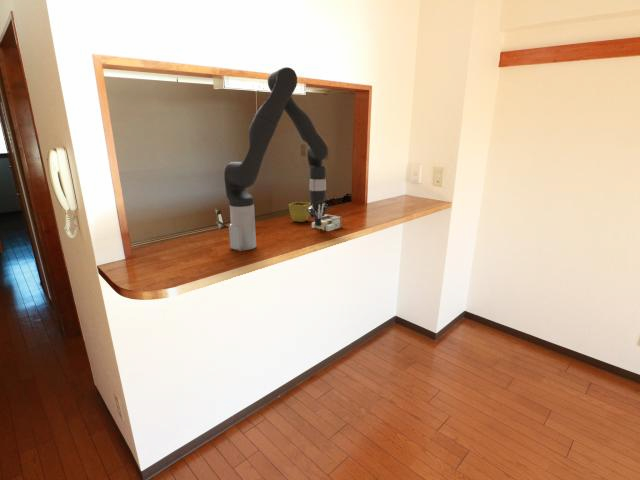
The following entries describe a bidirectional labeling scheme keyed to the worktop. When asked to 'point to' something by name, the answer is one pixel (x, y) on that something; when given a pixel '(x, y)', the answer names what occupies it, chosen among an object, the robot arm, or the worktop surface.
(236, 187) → the robot arm
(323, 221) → the cream pronged block
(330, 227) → the channel
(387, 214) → the worktop surface
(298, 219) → the flower pot
